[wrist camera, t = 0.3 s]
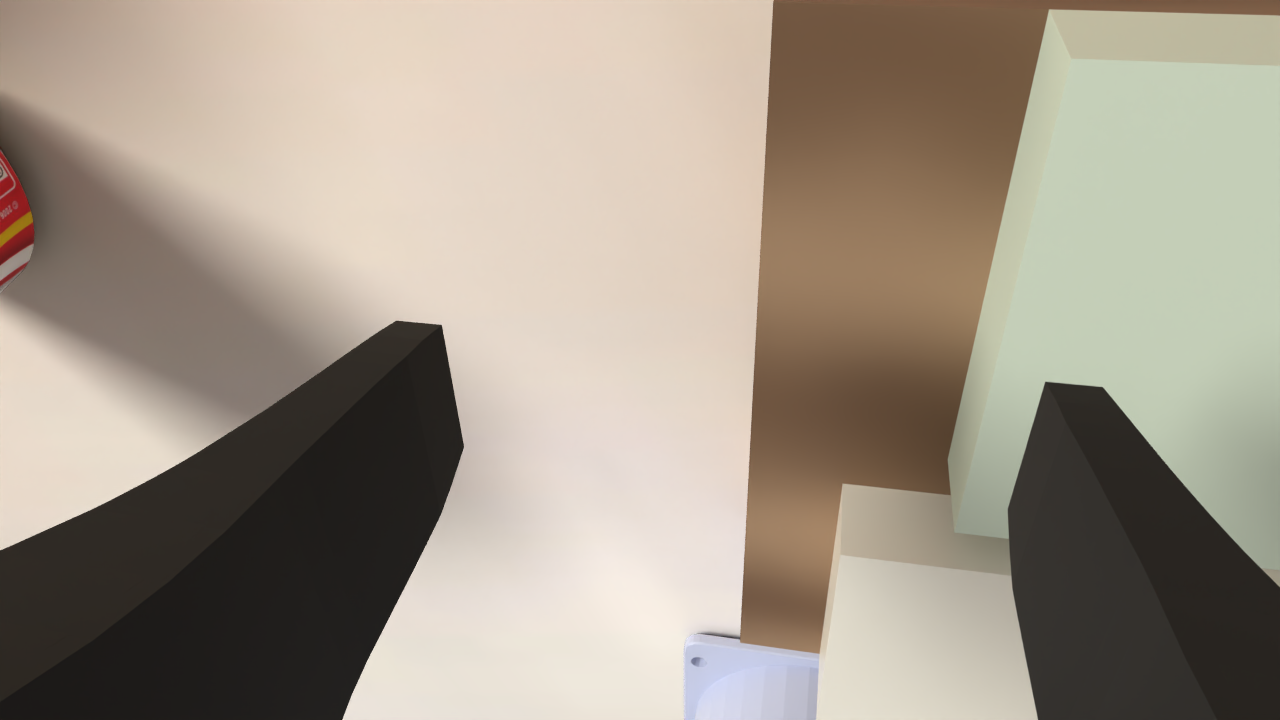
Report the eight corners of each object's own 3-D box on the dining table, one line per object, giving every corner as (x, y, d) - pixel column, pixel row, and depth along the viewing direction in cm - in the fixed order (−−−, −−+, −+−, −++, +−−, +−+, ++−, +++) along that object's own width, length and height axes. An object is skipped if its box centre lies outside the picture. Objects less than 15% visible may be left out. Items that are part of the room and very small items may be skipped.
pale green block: (1270, 492, 18) (1307, 573, 17) (947, 459, 19) (954, 532, 18) (1516, 22, 13) (1604, 77, 11) (1049, 9, 14) (1071, 59, 12)
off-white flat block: (1306, 534, 19) (1346, 616, 17) (1206, 708, 22) (1231, 788, 21) (842, 483, 20) (840, 555, 19) (819, 653, 24) (815, 725, 22)
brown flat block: (1206, 580, 25) (1252, 714, 22) (754, 526, 27) (740, 642, 24) (1527, -55, 16) (1688, 26, 13) (790, -66, 18) (774, 2, 15)
